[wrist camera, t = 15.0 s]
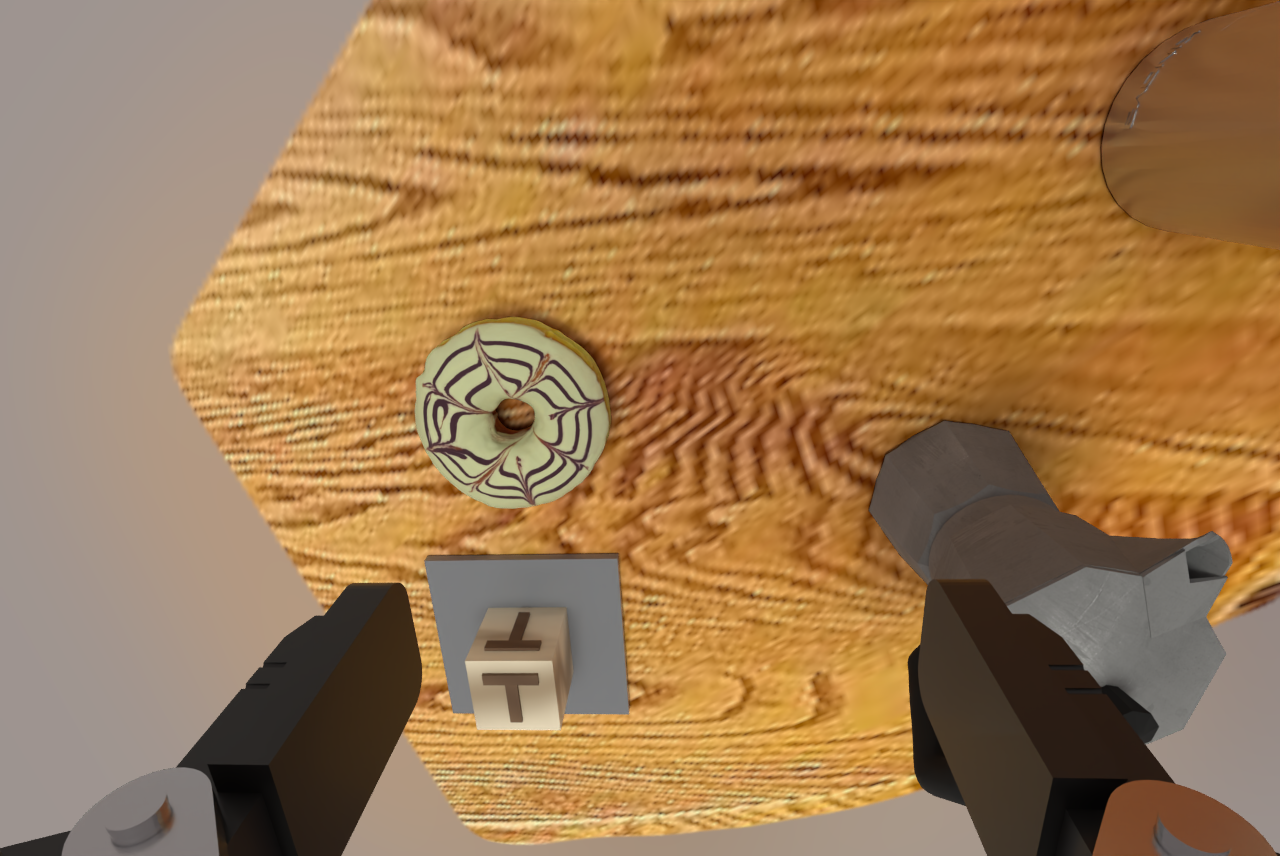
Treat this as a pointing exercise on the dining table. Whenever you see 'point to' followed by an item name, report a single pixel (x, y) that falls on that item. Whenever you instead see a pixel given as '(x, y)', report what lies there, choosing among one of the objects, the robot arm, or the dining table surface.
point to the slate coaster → (536, 582)
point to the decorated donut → (518, 369)
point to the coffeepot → (1052, 578)
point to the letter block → (521, 669)
